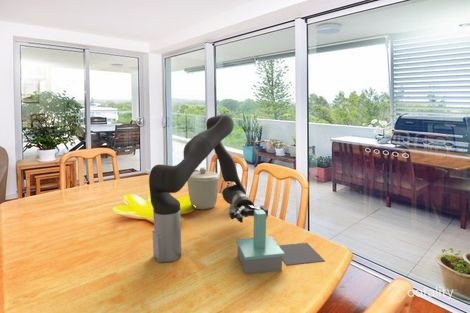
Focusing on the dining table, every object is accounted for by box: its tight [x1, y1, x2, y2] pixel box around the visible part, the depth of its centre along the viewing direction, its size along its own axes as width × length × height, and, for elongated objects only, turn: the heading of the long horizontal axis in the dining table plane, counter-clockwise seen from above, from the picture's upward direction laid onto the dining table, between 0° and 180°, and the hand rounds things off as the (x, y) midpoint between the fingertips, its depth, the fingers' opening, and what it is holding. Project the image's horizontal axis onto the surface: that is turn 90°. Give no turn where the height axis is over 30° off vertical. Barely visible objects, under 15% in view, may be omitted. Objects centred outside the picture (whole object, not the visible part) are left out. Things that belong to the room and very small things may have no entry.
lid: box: [235, 210, 284, 260], centre depth 103 cm, size 13×13×14 cm
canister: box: [186, 167, 221, 210], centre depth 161 cm, size 18×18×21 cm
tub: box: [237, 246, 283, 275], centre depth 104 cm, size 12×12×6 cm
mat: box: [278, 242, 326, 266], centre depth 112 cm, size 14×14×1 cm
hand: (253, 219), depth 110 cm, fingers open, 8 cm apart
